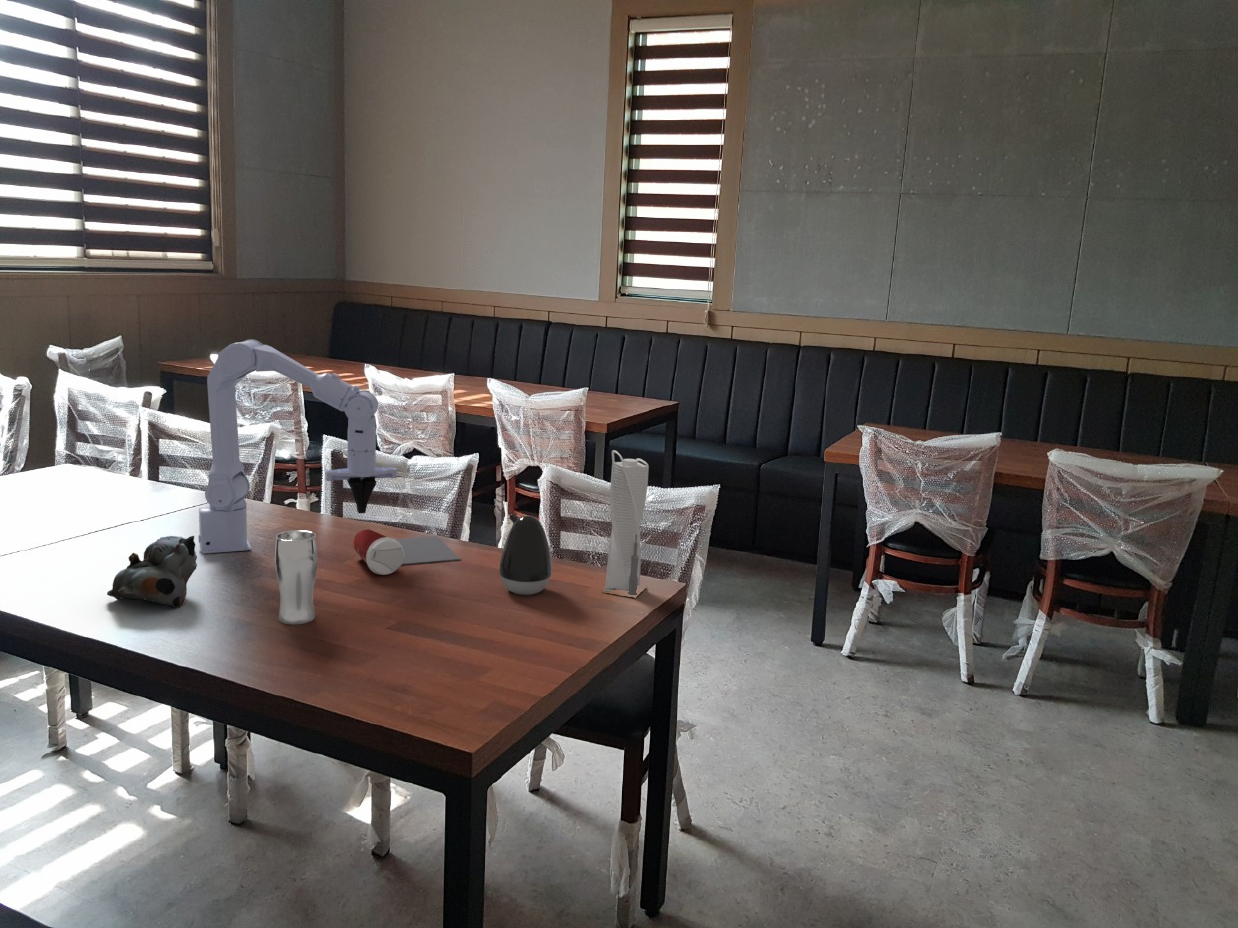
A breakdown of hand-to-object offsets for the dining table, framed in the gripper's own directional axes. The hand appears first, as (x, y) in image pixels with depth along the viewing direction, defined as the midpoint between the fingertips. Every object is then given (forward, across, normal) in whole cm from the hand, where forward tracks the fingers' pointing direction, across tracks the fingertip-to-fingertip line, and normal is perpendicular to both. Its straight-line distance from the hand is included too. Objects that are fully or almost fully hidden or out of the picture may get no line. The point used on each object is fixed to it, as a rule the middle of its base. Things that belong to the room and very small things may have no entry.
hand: (361, 512), depth 201 cm
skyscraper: (+9, +44, -38) cm, 59 cm away
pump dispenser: (+9, +25, -33) cm, 42 cm away
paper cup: (+6, 0, -3) cm, 7 cm away
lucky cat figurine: (+9, -40, -19) cm, 45 cm away
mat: (+9, +10, -2) cm, 13 cm away
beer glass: (+9, -18, -35) cm, 41 cm away
